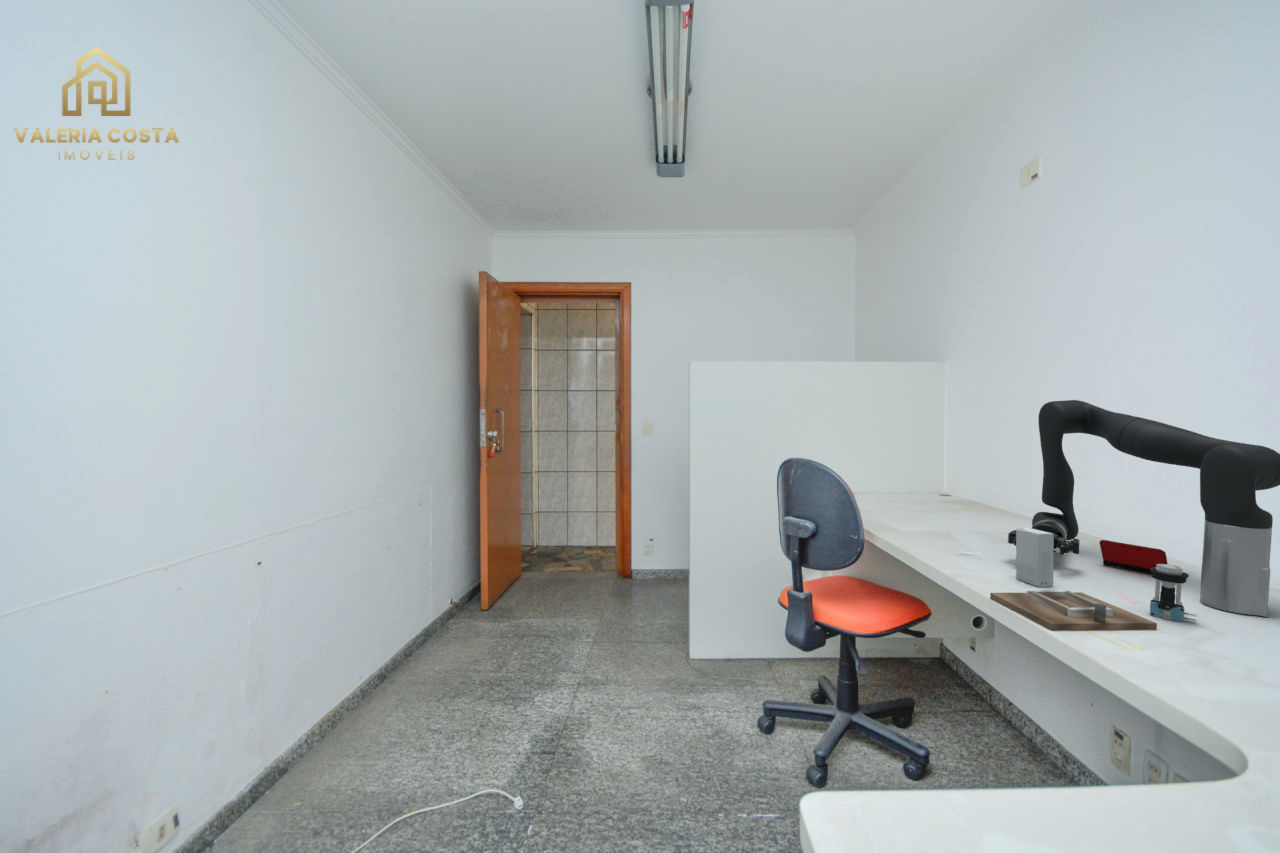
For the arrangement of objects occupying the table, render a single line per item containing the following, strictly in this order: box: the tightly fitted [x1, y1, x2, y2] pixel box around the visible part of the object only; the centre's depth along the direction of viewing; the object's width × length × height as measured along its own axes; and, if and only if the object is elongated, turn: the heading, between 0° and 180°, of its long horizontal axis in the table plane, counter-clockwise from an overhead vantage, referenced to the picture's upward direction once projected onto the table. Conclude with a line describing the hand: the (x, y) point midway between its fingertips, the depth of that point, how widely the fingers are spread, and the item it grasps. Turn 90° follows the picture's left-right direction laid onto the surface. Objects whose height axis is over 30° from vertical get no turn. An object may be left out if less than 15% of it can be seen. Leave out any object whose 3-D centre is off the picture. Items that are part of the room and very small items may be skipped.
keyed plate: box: [989, 589, 1158, 631], centre depth 107 cm, size 20×16×4 cm
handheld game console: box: [1099, 539, 1168, 575], centre depth 136 cm, size 12×11×7 cm
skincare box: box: [1015, 527, 1054, 588], centre depth 124 cm, size 6×4×12 cm
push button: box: [1149, 563, 1197, 623], centre depth 104 cm, size 7×5×10 cm
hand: (1039, 546), depth 131 cm, fingers open, 8 cm apart
